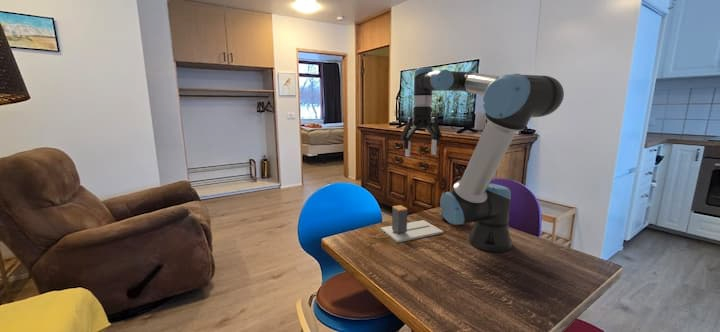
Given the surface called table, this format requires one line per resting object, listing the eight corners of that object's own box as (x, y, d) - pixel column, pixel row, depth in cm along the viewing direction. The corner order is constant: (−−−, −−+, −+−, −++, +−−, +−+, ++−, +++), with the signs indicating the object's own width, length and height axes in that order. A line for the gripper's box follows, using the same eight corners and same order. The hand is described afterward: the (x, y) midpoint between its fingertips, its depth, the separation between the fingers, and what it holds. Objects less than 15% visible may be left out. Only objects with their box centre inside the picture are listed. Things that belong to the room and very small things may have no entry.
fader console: (443, 233, 127) (443, 230, 127) (397, 242, 119) (397, 240, 118) (423, 221, 140) (423, 219, 140) (380, 229, 131) (380, 227, 131)
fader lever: (406, 232, 125) (407, 208, 123) (398, 233, 124) (398, 209, 122) (400, 227, 130) (400, 205, 128) (392, 229, 128) (392, 206, 126)
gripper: (440, 106, 138) (438, 152, 142) (392, 106, 129) (391, 156, 133) (451, 105, 132) (449, 154, 136) (401, 106, 122) (400, 158, 126)
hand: (420, 155), depth 134 cm, fingers open, 13 cm apart
